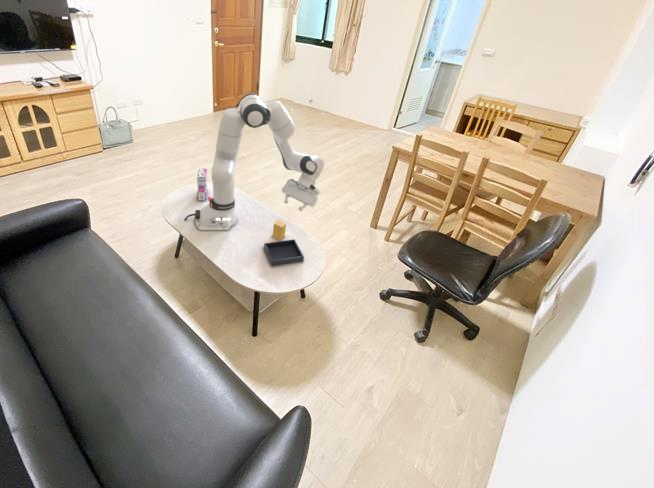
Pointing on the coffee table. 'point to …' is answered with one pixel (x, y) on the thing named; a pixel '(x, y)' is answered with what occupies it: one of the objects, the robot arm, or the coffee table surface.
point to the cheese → (279, 230)
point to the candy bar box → (202, 184)
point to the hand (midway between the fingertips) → (292, 206)
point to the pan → (283, 252)
